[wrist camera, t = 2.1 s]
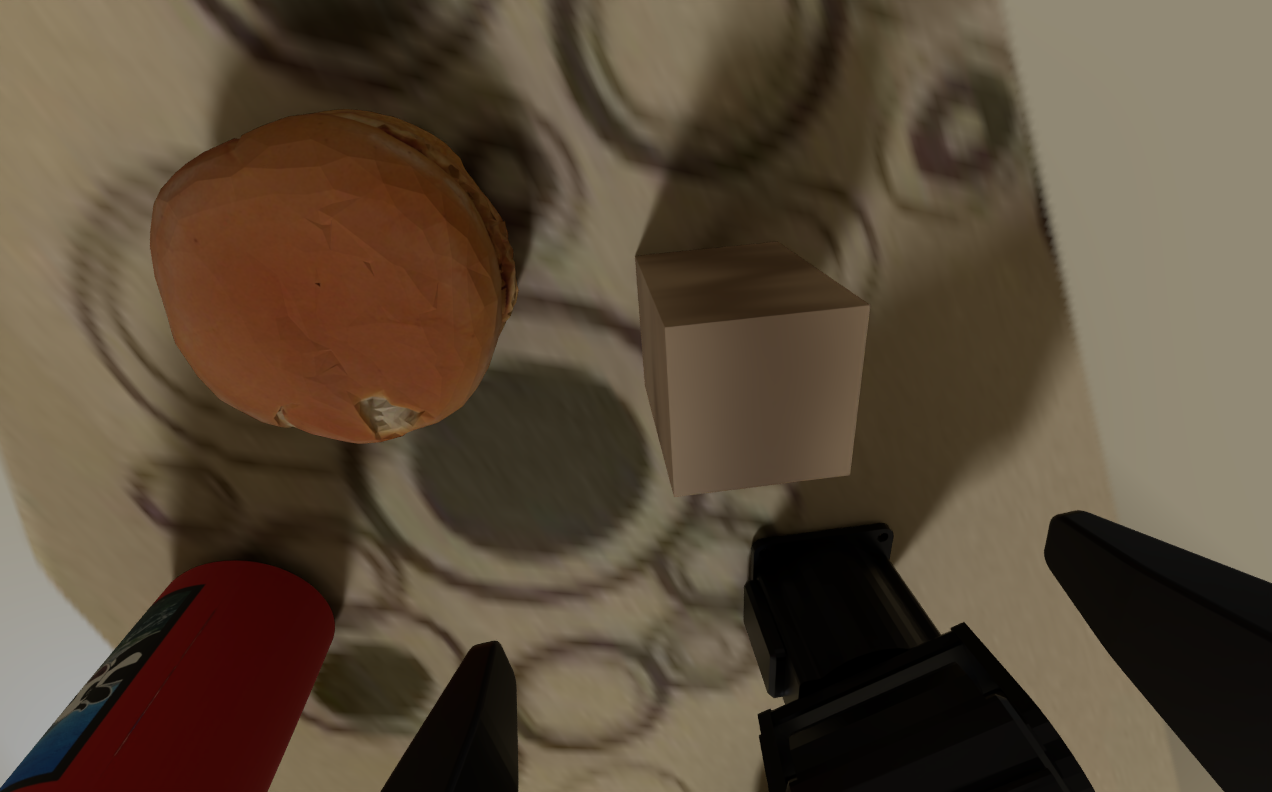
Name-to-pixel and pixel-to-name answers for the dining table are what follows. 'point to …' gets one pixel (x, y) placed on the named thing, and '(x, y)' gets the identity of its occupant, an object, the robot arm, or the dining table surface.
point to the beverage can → (193, 690)
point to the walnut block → (749, 366)
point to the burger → (334, 274)
